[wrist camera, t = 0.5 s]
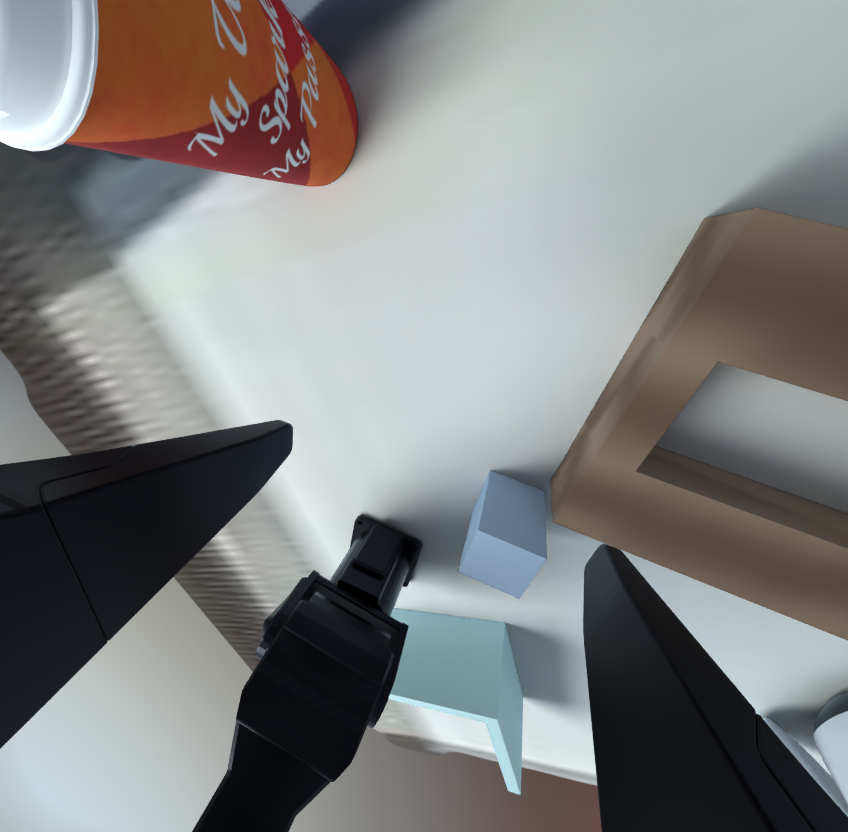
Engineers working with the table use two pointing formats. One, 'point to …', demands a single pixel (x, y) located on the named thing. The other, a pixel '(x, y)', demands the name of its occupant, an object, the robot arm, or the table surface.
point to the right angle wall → (464, 678)
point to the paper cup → (177, 85)
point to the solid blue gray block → (506, 535)
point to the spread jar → (826, 748)
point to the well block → (676, 383)
